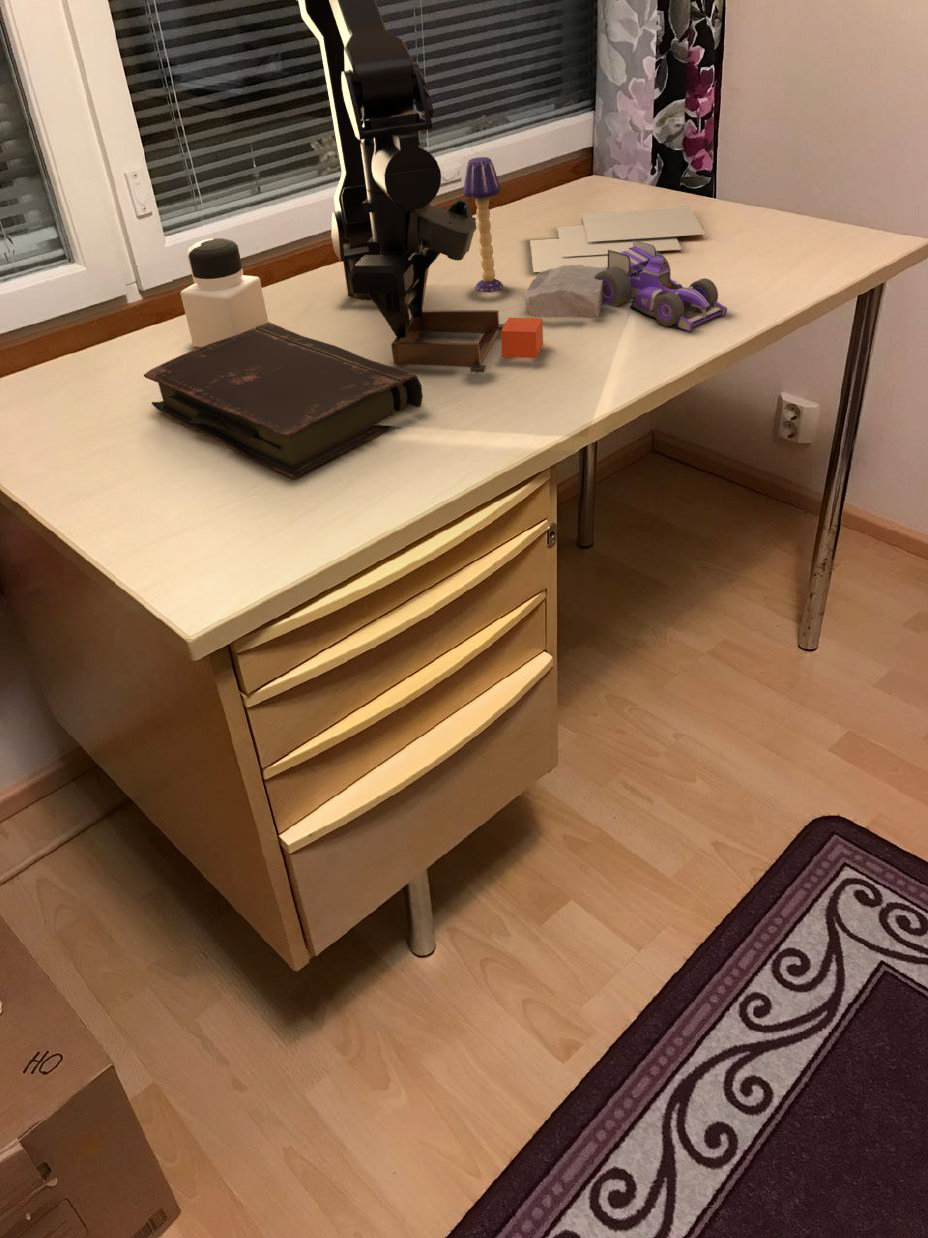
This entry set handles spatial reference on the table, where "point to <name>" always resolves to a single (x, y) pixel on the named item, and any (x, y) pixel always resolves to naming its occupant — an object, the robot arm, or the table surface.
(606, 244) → the paper stack
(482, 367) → the hinge brackets
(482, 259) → the toy lamp
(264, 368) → the diary
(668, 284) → the toy race car
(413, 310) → the robot arm
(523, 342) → the cube
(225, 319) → the medicine bottle
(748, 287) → the table surface
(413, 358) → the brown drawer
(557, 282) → the stone block
